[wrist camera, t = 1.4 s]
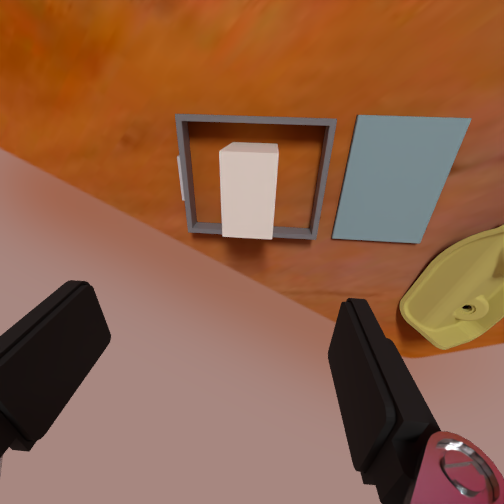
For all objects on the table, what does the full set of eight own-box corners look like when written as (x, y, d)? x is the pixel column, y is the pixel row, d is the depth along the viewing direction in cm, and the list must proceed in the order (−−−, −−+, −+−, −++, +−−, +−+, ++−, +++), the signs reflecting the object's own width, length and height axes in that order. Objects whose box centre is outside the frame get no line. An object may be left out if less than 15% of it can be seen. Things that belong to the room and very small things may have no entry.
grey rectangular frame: (332, 118, 25) (337, 118, 24) (313, 232, 32) (315, 239, 30) (177, 113, 26) (171, 113, 25) (189, 225, 33) (185, 232, 31)
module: (277, 143, 27) (278, 153, 20) (272, 211, 31) (272, 239, 24) (232, 141, 27) (219, 151, 20) (233, 209, 31) (222, 236, 24)
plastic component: (477, 338, 36) (435, 353, 32) (433, 301, 41) (392, 309, 37) (618, 222, 25) (581, 221, 21) (532, 192, 30) (490, 187, 26)
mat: (468, 118, 25) (471, 118, 24) (417, 241, 31) (419, 243, 31) (357, 115, 25) (358, 115, 25) (331, 236, 32) (332, 238, 32)
